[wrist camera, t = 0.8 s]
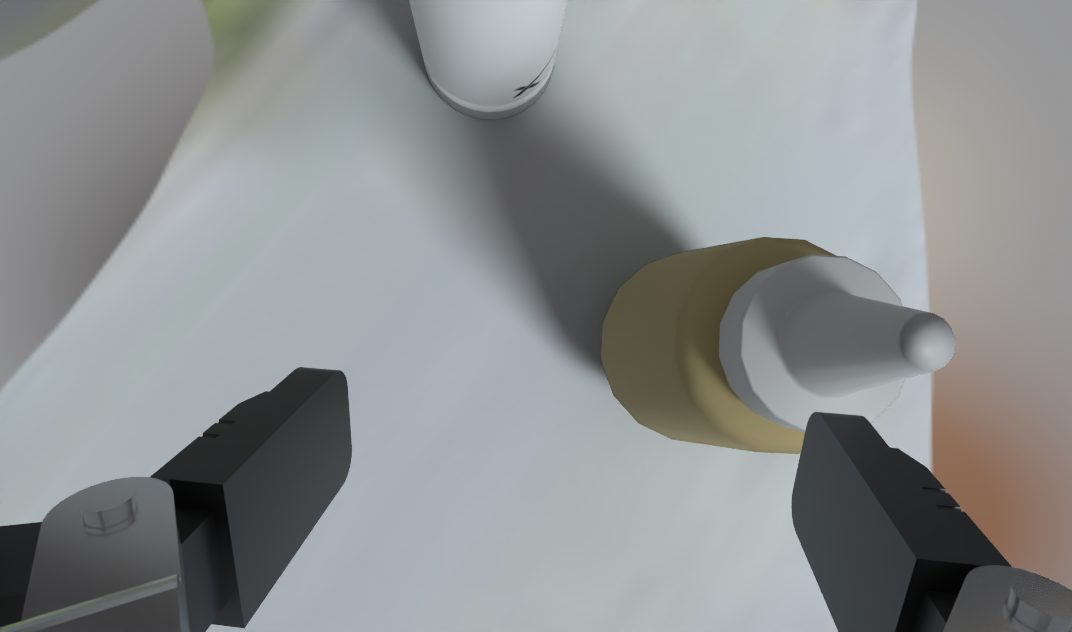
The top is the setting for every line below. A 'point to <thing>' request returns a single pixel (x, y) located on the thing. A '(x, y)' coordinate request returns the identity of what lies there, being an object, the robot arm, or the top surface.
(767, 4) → the top surface
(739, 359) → the squeeze bottle
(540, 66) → the travel mug
